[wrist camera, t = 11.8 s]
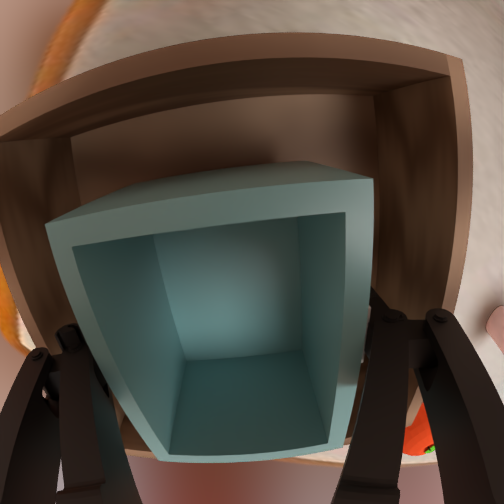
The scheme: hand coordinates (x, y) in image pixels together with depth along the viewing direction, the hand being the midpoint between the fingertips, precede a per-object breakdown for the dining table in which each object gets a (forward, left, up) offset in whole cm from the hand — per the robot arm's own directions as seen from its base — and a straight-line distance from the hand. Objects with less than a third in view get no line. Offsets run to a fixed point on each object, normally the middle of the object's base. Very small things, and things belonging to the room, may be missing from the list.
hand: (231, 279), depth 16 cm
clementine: (+24, +19, -4) cm, 31 cm away
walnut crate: (0, 0, -4) cm, 4 cm away
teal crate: (0, 0, 0) cm, 0 cm away
